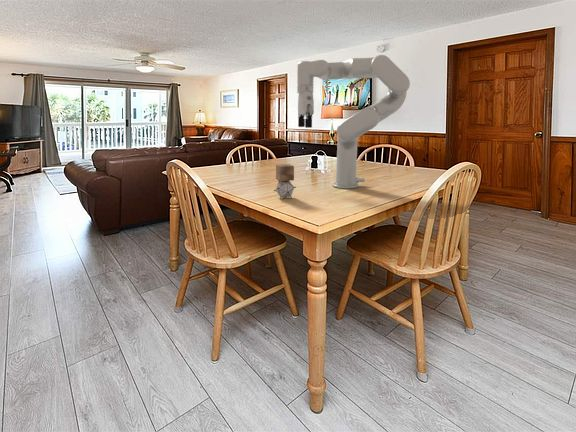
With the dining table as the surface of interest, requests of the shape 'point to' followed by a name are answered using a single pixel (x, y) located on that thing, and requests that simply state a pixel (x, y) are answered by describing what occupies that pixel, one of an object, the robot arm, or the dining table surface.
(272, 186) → the dining table surface
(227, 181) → the dining table surface
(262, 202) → the dining table surface
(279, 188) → the grey spiked ball
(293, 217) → the dining table surface
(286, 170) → the walnut cube
